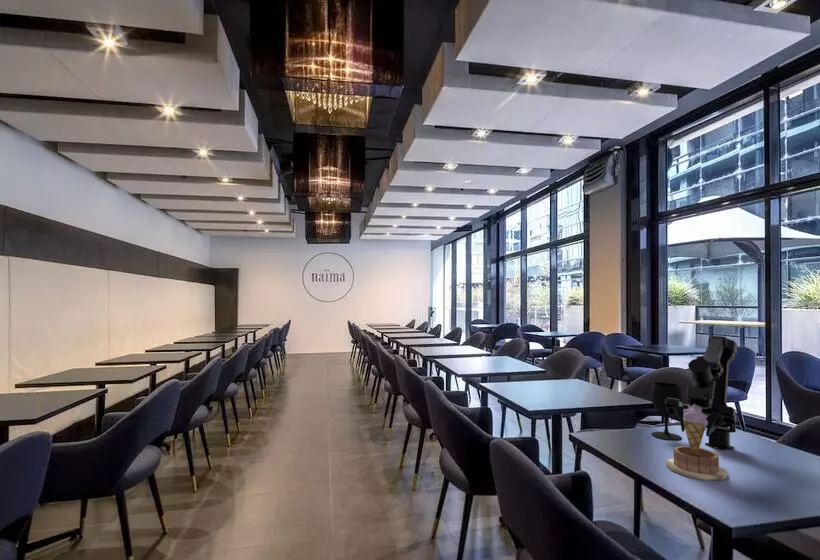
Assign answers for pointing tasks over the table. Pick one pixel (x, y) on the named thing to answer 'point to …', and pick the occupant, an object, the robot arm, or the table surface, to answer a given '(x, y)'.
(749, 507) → the table surface
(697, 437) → the ice cream cone
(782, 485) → the table surface
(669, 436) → the wine glass
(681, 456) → the cone stand
